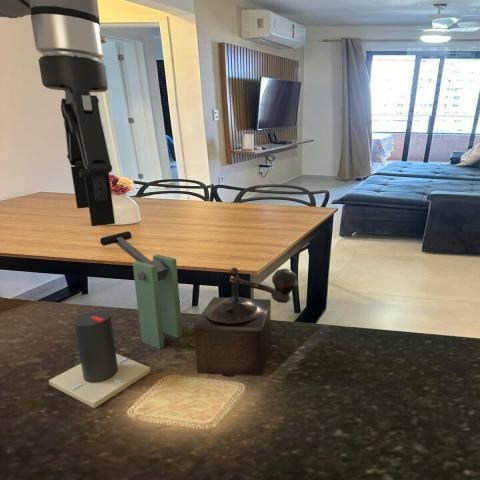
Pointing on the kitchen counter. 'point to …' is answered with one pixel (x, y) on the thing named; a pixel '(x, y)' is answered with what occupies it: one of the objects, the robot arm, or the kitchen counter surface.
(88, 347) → the cylinder
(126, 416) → the kitchen counter surface
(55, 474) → the kitchen counter surface
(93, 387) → the dial panel
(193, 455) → the kitchen counter surface
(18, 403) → the kitchen counter surface
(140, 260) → the dark grey lever
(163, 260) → the green lever stand
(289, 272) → the coffee grinder
